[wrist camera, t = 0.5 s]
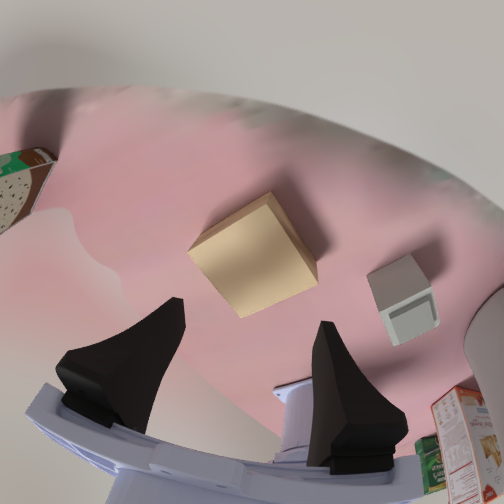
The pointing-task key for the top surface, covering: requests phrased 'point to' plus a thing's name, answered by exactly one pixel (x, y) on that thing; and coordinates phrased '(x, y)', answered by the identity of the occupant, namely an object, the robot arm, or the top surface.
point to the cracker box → (468, 448)
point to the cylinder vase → (489, 359)
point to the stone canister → (404, 300)
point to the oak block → (255, 257)
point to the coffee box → (431, 464)
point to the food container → (22, 183)
